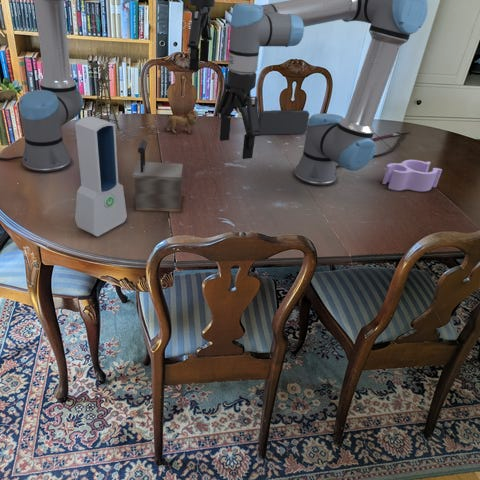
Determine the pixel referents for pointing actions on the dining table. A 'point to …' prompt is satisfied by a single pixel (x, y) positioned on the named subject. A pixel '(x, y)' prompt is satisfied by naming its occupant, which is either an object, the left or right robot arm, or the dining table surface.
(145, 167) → the lid
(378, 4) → the right robot arm
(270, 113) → the handheld gaming console
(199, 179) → the dining table surface
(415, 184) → the clip
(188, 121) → the lion figurine
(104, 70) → the miniature windmill
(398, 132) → the sword
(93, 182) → the electronic device
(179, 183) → the chest
